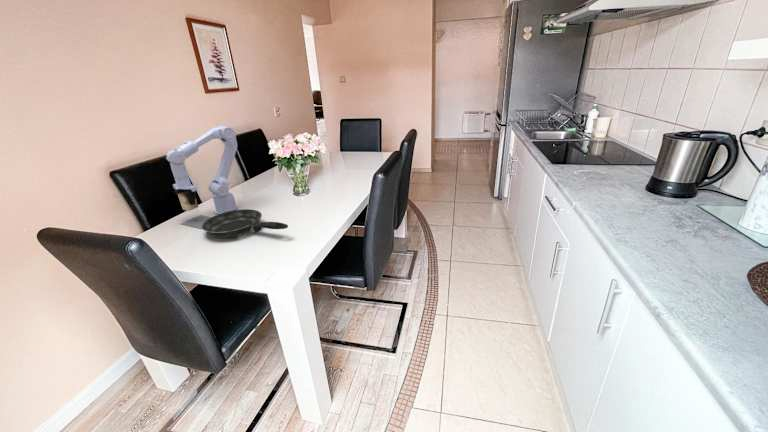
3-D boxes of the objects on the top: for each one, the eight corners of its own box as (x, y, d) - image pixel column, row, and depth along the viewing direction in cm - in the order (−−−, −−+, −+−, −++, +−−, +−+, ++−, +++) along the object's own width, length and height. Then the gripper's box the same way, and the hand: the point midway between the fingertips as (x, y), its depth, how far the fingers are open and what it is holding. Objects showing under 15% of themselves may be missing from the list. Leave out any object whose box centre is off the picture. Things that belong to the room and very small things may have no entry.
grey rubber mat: (200, 215, 160) (200, 214, 160) (225, 220, 153) (225, 220, 153) (180, 224, 151) (180, 223, 151) (205, 230, 144) (204, 229, 144)
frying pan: (191, 236, 138) (187, 222, 136) (237, 215, 159) (234, 203, 156) (266, 255, 121) (263, 239, 118) (306, 228, 142) (304, 214, 139)
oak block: (192, 205, 155) (187, 190, 151) (198, 207, 153) (193, 191, 150) (182, 209, 151) (177, 194, 147) (188, 210, 149) (183, 195, 145)
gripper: (163, 177, 145) (172, 204, 151) (183, 180, 139) (191, 208, 145) (177, 173, 151) (186, 199, 156) (197, 176, 145) (205, 203, 151)
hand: (189, 203), depth 151 cm, fingers closed on oak block, 4 cm apart
